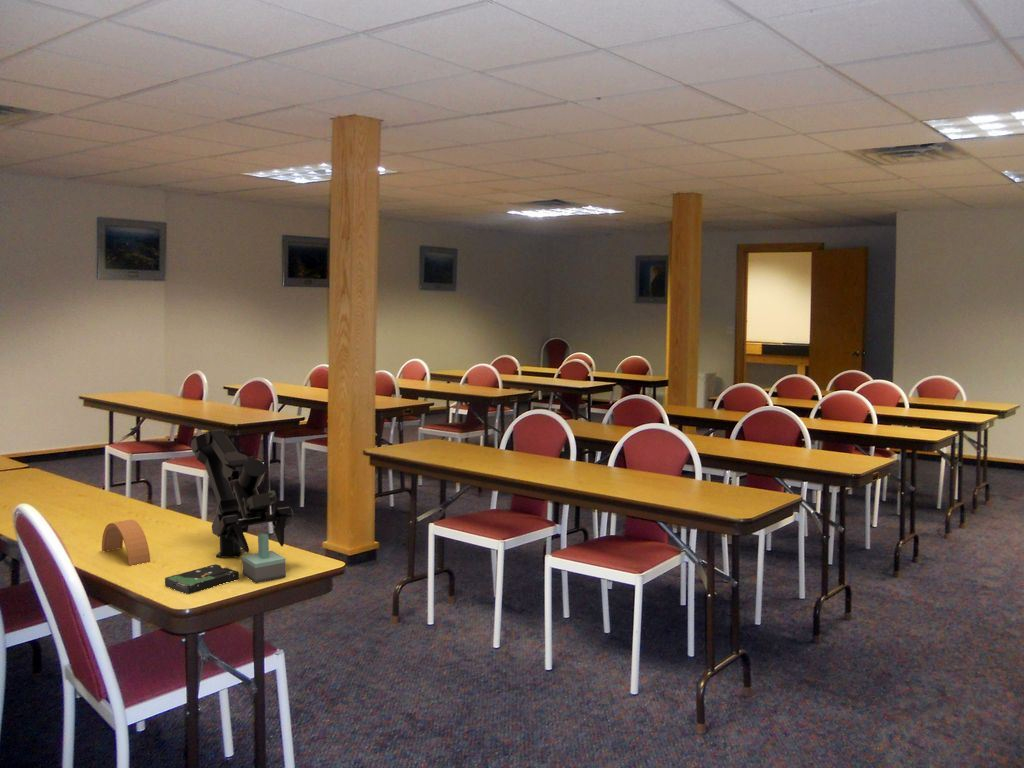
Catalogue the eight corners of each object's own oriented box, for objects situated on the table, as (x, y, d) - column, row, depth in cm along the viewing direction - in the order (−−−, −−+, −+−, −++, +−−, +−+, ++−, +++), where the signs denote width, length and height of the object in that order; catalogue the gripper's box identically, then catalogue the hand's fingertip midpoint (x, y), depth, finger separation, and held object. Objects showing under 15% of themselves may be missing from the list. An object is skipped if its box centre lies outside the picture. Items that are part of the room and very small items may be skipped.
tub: (242, 574, 227) (242, 559, 227) (272, 568, 232) (271, 554, 232) (255, 583, 220) (255, 568, 220) (285, 577, 225) (285, 562, 225)
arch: (128, 567, 234) (127, 530, 233) (101, 551, 248) (100, 517, 247) (150, 562, 238) (149, 526, 237) (122, 547, 252) (121, 513, 251)
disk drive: (215, 574, 230) (164, 588, 218) (215, 563, 229) (163, 577, 218) (239, 581, 224) (188, 596, 212) (239, 571, 223) (188, 585, 211)
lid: (242, 562, 227) (241, 533, 226) (271, 557, 232) (271, 528, 231) (255, 571, 220) (254, 540, 219) (285, 565, 225) (284, 535, 224)
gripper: (220, 485, 221) (237, 537, 214) (290, 476, 233) (308, 525, 225) (210, 510, 228) (226, 561, 221) (278, 500, 240) (296, 548, 232)
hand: (265, 548), depth 224 cm, fingers open, 9 cm apart
